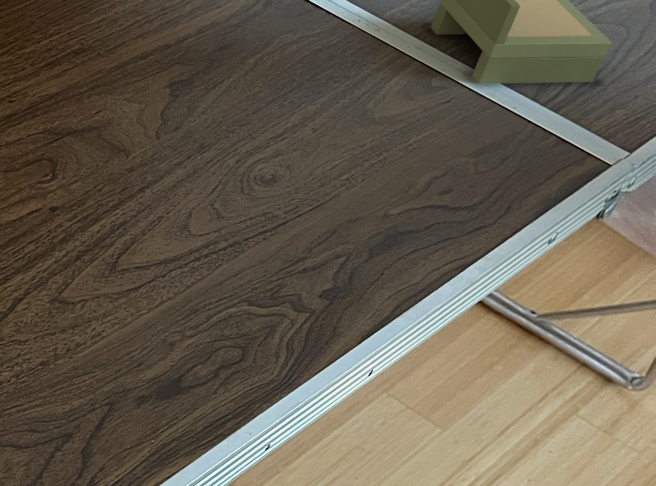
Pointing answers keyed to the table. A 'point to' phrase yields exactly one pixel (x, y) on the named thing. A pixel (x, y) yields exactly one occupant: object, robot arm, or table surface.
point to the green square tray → (526, 39)
